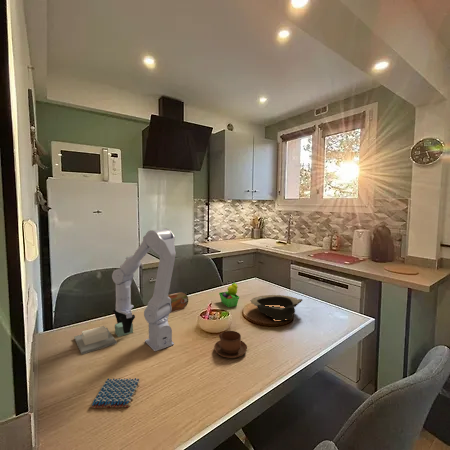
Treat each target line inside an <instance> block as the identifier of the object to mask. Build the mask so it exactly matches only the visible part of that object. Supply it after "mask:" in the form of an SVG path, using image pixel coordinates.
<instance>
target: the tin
mask: <svg viewBox="0 0 450 450" xmlns="http://www.w3.org/2000/svg"><path fill="white" fill-rule="evenodd" d="M168 297H169V298H170V299H171V307H172V310H171V313H172V312H176V311H180V310H184V309H185V308H186V307H187V305H188V304H189V297H188V295H187V294H186V293H184V292H182V291H181V292H180V291H179V292H176V293H171V294H168Z"/></svg>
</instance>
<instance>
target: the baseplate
mask: <svg viewBox="0 0 450 450" xmlns="http://www.w3.org/2000/svg"><path fill="white" fill-rule="evenodd" d="M73 337H74V342H75V343H76V345H77V348H78V350H79V352H80V355H81V356H82V355H84V354H85V355H86V354H88V353H93V352H94V351H98V350H101V349H104V348H107V347H110V346H114V345H117V340H116V339H115V337H114V336H113V334H112V333H111V332H110V331H109V329H108V328H107V327H106V326H105V325H101V326H98V327H94V328H91V329H87V330H86V329H85V330H82V331H81V334H79V335H75V336H73Z"/></svg>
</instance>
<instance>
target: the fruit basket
mask: <svg viewBox="0 0 450 450" xmlns="http://www.w3.org/2000/svg"><path fill="white" fill-rule="evenodd" d="M238 288H239V287H238V284H237V283H236V282H232V283H231V284H230V285H228V287H227V291H226V290H225V291H222V292H218V295H219V297H220V301H221V303H222V304H223V305H224V306H226V307H227V308H231V307H237V306H238V302H239V299H240V296H239V295H237V293H238Z"/></svg>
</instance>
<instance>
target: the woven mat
mask: <svg viewBox="0 0 450 450" xmlns="http://www.w3.org/2000/svg"><path fill="white" fill-rule="evenodd" d="M138 387H140V379H139V378H132V379H131V378H120V377H119V378H116V379H115V378H111V379H110V378H107V380H105V381H104V384H103V385H102V386H101V387H100V390H99V392H98V393H97V395H96V397H95V398H94V399H93V401H92V404H91V405H90V407H91V408H92V409H94V408H95V409H99V408H101V409H103V408H104V409H105V408H129V407H131V406H132V401H133V400H134V399H135V398H134V396H135V395H137V391H138Z"/></svg>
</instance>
